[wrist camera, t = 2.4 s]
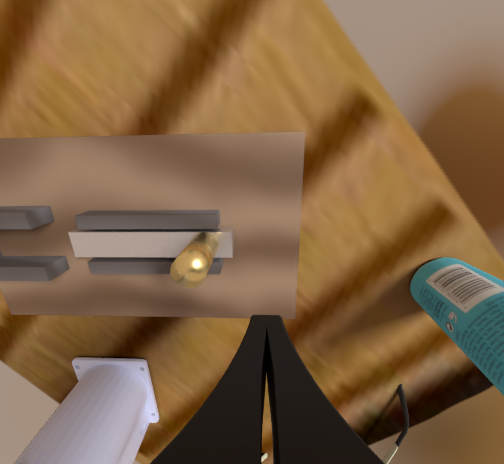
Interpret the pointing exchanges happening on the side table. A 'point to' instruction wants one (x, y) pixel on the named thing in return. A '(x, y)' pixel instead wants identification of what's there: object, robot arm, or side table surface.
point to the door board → (150, 222)
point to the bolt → (160, 247)
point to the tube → (466, 310)
